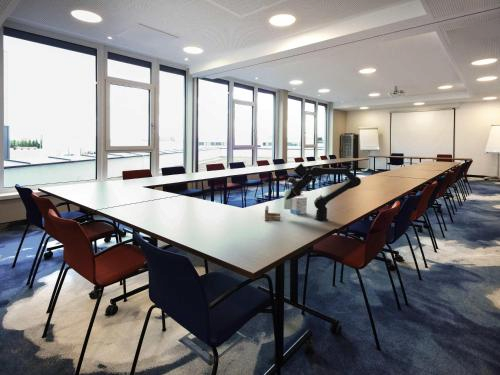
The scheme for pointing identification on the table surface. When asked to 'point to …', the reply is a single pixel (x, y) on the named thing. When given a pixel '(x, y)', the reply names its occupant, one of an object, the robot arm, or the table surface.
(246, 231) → the table surface
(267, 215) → the holder
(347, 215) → the table surface
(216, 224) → the table surface
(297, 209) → the ink box
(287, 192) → the pale green tapered cylinder
